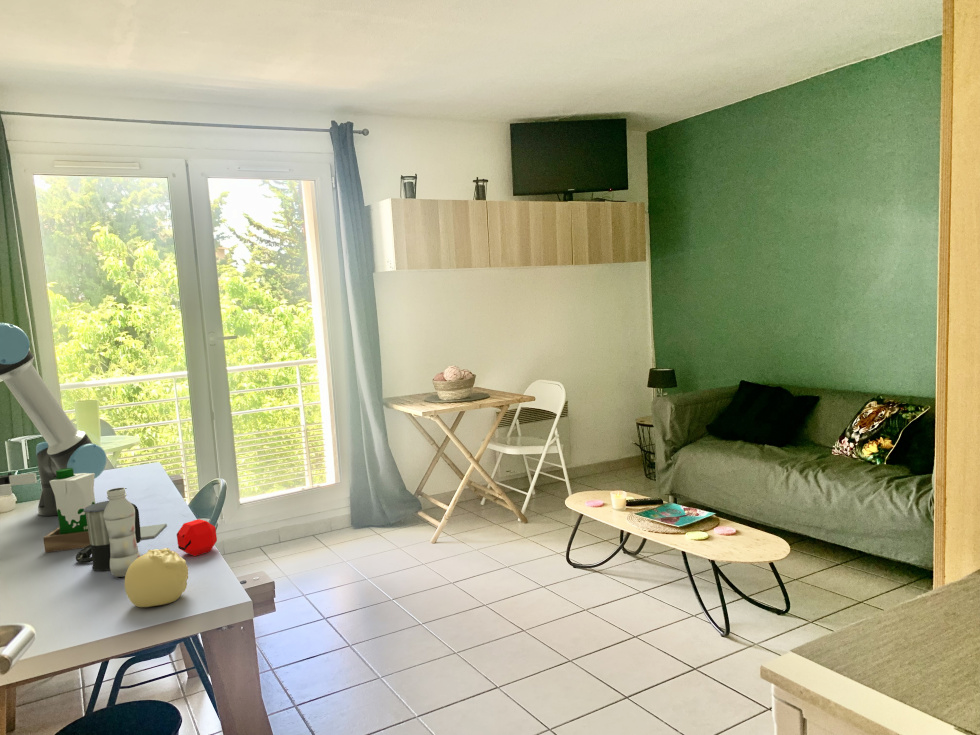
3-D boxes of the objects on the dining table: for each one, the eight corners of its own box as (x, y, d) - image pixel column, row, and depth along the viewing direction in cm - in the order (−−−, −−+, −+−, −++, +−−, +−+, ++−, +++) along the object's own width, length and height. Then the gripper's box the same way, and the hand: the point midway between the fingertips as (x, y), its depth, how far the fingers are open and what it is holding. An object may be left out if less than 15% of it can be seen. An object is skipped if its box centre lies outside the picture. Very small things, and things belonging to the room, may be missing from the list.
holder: (66, 537, 204) (64, 523, 204) (115, 531, 206) (113, 517, 206) (45, 552, 191) (43, 537, 191) (97, 545, 193) (95, 531, 193)
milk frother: (124, 569, 172) (115, 508, 171) (55, 576, 171) (46, 515, 170) (149, 549, 186) (141, 492, 185) (85, 555, 185) (77, 498, 184)
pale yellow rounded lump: (197, 600, 149) (191, 548, 148) (133, 619, 142) (125, 565, 141) (184, 585, 158) (178, 536, 157) (123, 602, 151) (116, 551, 150)
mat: (125, 530, 205) (125, 528, 205) (166, 525, 207) (166, 523, 207) (111, 543, 194) (110, 541, 194) (154, 537, 196) (154, 535, 196)
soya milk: (79, 536, 204) (69, 466, 202) (107, 535, 202) (97, 464, 200) (55, 547, 195) (44, 474, 193) (84, 546, 193) (73, 472, 192)
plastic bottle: (120, 570, 171) (108, 487, 170) (148, 568, 171) (137, 484, 169) (105, 581, 165) (93, 494, 163) (134, 579, 165) (122, 492, 163)
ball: (175, 555, 180) (171, 524, 179) (206, 545, 186) (202, 515, 185) (191, 560, 174) (187, 529, 174) (222, 550, 180) (218, 519, 180)
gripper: (-35, 495, 204) (46, 486, 207) (-92, 519, 180) (1, 509, 183) (-38, 468, 204) (43, 460, 207) (-97, 489, 179) (-3, 479, 182)
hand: (23, 483), depth 195 cm, fingers open, 13 cm apart
